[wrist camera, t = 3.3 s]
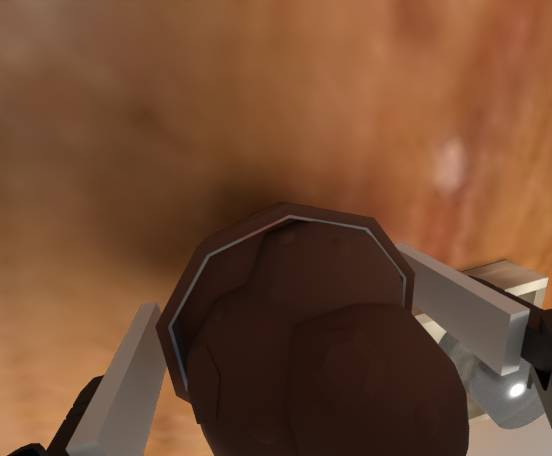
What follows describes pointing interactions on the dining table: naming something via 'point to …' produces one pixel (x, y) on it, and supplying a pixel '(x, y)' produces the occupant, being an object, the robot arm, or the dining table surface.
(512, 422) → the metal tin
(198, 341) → the ice cream bowl
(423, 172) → the dining table surface
